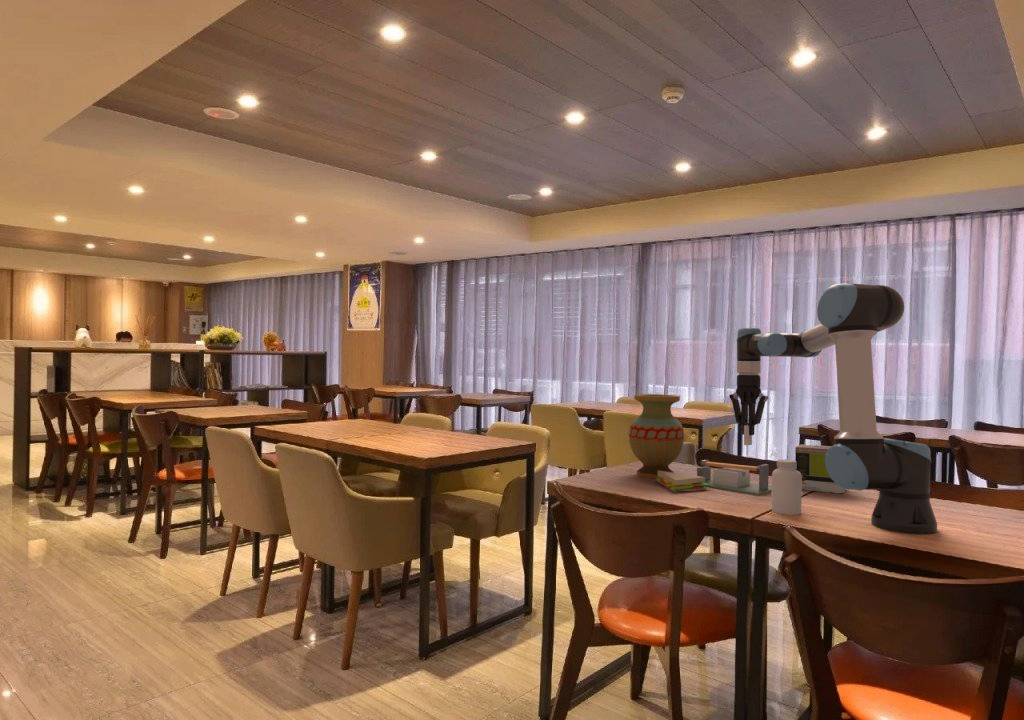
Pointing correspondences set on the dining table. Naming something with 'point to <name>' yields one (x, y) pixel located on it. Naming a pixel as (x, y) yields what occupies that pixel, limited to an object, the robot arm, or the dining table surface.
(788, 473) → the pill bottle
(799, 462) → the tea box
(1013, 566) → the dining table surface
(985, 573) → the dining table surface
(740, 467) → the wooden stick
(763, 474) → the heatsink board
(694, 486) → the sandwich
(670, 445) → the vase
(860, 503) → the dining table surface
